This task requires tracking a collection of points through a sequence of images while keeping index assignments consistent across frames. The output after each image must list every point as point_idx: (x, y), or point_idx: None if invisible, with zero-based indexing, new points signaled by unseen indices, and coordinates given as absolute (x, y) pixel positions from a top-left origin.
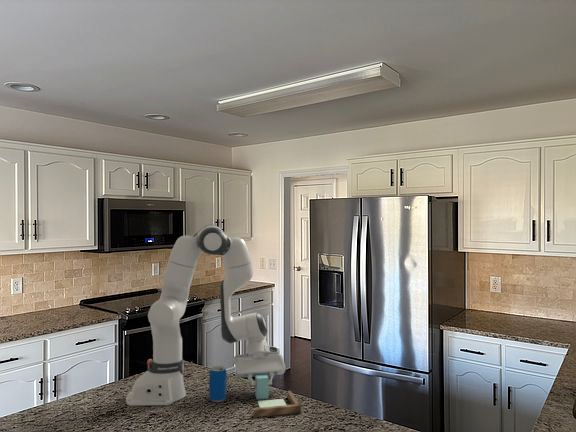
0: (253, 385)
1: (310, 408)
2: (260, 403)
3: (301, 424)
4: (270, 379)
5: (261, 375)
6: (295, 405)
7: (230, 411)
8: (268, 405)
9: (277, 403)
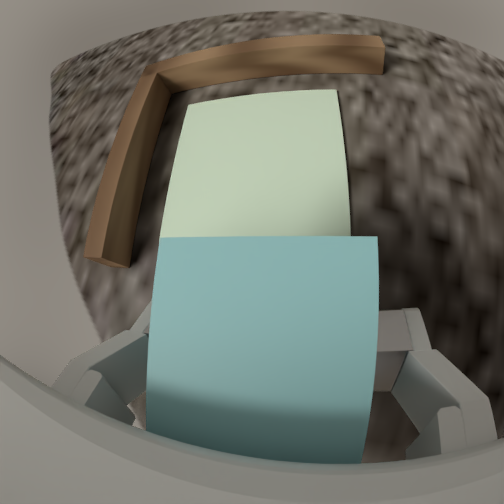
0: (398, 311)
1: (109, 122)
2: (333, 191)
3: (204, 26)
4: (144, 329)
5: (247, 404)
6: (164, 63)
7: (496, 145)
8: (283, 151)
9: (217, 172)
